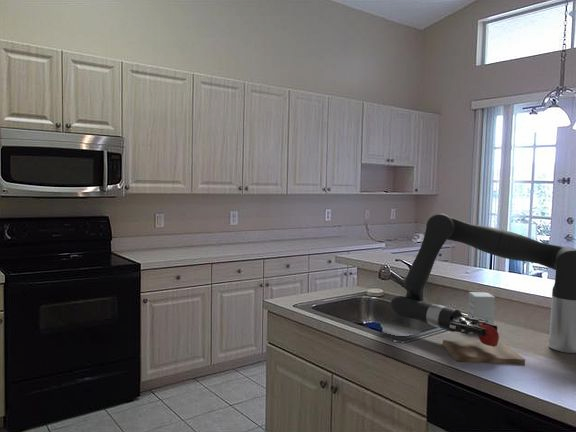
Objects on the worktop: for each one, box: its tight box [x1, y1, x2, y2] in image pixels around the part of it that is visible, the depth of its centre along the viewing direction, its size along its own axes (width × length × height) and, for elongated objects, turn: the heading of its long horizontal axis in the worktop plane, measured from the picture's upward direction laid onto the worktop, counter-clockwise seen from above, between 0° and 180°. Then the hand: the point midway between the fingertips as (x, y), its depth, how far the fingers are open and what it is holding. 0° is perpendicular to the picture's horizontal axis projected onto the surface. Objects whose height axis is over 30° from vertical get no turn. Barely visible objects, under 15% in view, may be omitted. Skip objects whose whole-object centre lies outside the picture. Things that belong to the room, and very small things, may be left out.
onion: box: [477, 323, 500, 347], centre depth 148 cm, size 6×6×8 cm
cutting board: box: [442, 339, 526, 365], centre depth 150 cm, size 20×15×2 cm
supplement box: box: [467, 291, 496, 326], centre depth 179 cm, size 7×7×13 cm
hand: (491, 331), depth 147 cm, fingers closed on onion, 5 cm apart
